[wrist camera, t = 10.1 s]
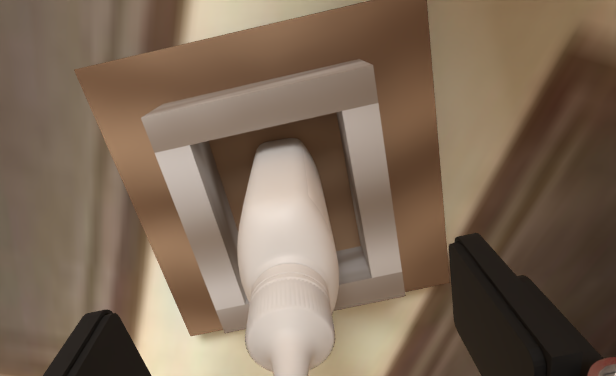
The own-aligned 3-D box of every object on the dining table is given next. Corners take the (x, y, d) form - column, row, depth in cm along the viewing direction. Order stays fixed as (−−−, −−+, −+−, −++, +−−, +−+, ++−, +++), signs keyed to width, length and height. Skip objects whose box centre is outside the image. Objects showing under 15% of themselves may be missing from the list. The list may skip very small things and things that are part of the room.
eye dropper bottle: (347, 152, 19) (427, 318, 8) (309, 244, 21) (334, 476, 10) (264, 124, 19) (232, 266, 8) (232, 222, 21) (171, 447, 10)
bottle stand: (89, 66, 19) (33, 77, 14) (415, -10, 18) (453, -20, 14) (195, 319, 25) (177, 377, 21) (440, 268, 24) (472, 317, 20)
